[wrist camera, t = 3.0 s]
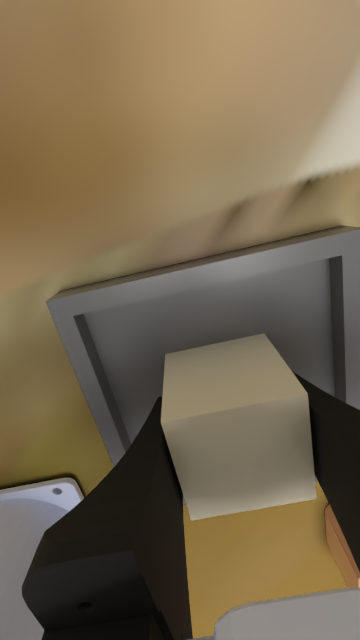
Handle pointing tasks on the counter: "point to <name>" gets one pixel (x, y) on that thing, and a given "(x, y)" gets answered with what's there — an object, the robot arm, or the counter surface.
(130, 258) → the counter surface
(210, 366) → the cream cube block
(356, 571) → the bowl
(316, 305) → the parts tray
